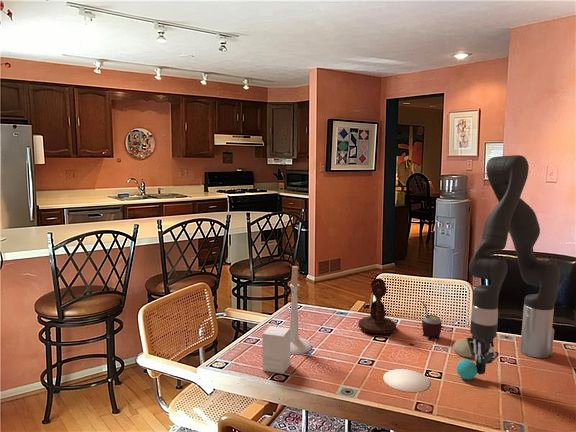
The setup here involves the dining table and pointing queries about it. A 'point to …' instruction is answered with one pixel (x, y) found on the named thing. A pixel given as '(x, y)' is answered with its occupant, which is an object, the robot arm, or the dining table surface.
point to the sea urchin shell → (462, 348)
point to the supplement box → (276, 349)
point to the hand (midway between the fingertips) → (480, 373)
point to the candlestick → (296, 320)
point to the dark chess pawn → (377, 312)
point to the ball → (466, 369)
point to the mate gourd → (431, 325)
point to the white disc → (406, 380)
